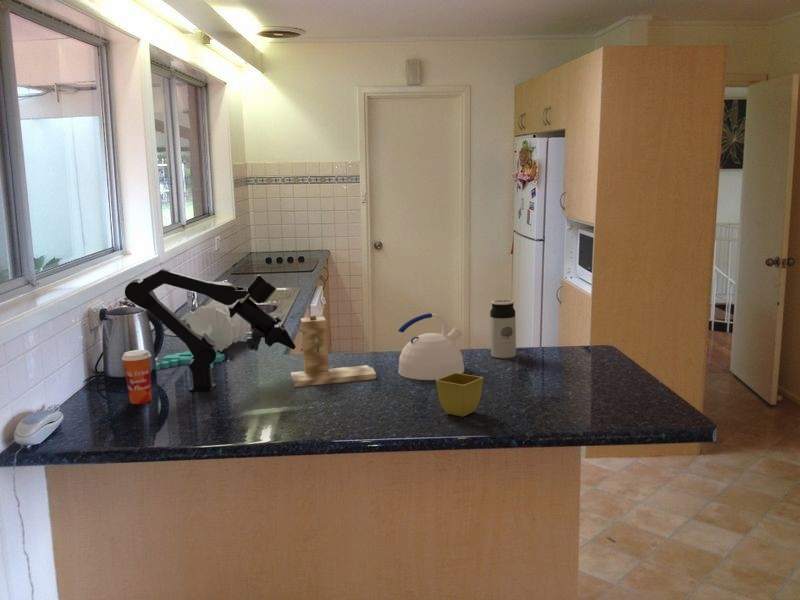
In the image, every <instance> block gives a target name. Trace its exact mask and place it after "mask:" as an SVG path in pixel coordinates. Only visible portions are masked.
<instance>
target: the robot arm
mask: <svg viewBox="0 0 800 600" xmlns="http://www.w3.org/2000/svg"><path fill="white" fill-rule="evenodd" d="M163 285H169V286H172V287H175V288H180V289H183V290H187V291H190V292H193V293H197V294H201V295H203V296H206V297H208V298H210V299H212V300H215V301H218V302H220V303H222V304H224V305H232V304H234V303H235V302H236V301H237V300H238V302H237V303H236V304H235V305H234V306H233V307H229V312H230V317H231V318H232V317H233V316H234V315H235V313H237V314H238V315H239V316H240V317H242V318H243V319H244V320H245V321H247V322H248V323H249V324H250V325H251V329H252V330H251V332H250V336H248V337H247V338H246V341H245V344H246V348H247V349H249V350H250V351H252V350H253V351H256V352H257V351H258V350H259V348H260V347H259V346H260V343H261V341H262V339H264V344H265V345H267V346H268V347H269V348H271V347H272V346H273V345H274V344H276V343H278V344H281V345H283V346H285V347H287V348H289V349H292V350H295V349H296V348H297V347H296V345H295V342H294V340H293V339H292V337H291V336H290V333H289V332H288V330H287V329H286V326H285V324H284V323H282V318H280V317H279V316H278V315H270V314H269V313H268V312H267V311H266V309H264V308H262V307H261V306H259V305H260V304H262V303H263V304H265V303H267V301H269V299H270V298H271V296H272V295H273V294H275V292H276V291H277V290H278V288H277V287H276V286H275V285H274V284H273V283H272V282H271V281H269V280H268V279H266V278H265V277H263V276H261V275H260V274H258V275H257V276H256V277H255V279H254V280H253V281H252V282H251V283H250V284H249V286H248V287H247V286H236V285H235V284H233V283H232V282H225V281H210V280H209V281H208V280H205V279H201V278H197V277H194V276H190V275H187V274H183V273H181V272H178V271H177V272H176V271H172V270H170V269H168V268H161V269H159V270H158V271H157V272H155V273H153V274H150V275H149V276H146V277H144V278H143V279H141V278H136V279H134V280H131V281H130V282H129V283H128V284H127V285H126V286H125V288H124V296H125V298H126V299H127V300H128V301H130V302H132V303H133V304H134V305H136V306H137V307H139V308H142V309H144V310H146V311H148V312H149V313H150V314H152V315H153V317H154V318H156V319H157V320H158V321H160V323H161V324H163V326H165V328H167V329H169V331H170V332H172V333H173V335H175V336H176V337H177V338H178V339H179V340H180V341H182V342H183V343H184V344H185V345H186V347H187V348H188V350H189V351H190V352H191V353H192V355H193V357H192V358H191V361H190V364H188V367H189V369H190V373H191V385H192V386H191V387H190V388H188V392H205V391H206V392H210V391H211V390H213V388H215V386H217V383H216V382H213V377H212V376H213V375H212V369H211V366H210V364H211V363H213V364H214V363H215V362H214V360H215V359H216V355H217V352H218V350H217V347H216V345H215V344H214V343H215V341H214V340H211V339H210V338H209V337H208V336H207V334H206V333H204V334H203V335H202V336H201V335H199V334H196V333H195V332H194V331H193V330H191V327H190V326H188V325H187V324H186V323H185V322H184V321H183V320H181V318H179V317H178V316H177V315H176V314H175V313H174V312H173V311H172V310H170V309H169V308H168V307H167V306H166V305H165V304H164V303H162V302H161V300H159V298H158V296H157V295H156V293H155V292H154V290H156V289H157V288H159V287H161V286H163ZM250 298H251V299H250ZM242 299H243V300H242ZM279 323H282V324H281V325H280V324H279Z"/></svg>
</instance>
